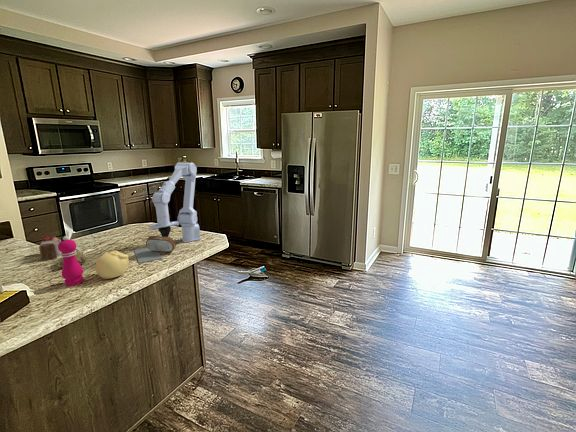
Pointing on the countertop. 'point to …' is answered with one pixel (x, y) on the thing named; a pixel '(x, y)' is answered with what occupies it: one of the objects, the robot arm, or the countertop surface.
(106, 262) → the sculpture
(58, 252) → the food item
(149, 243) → the tin
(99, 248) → the countertop surface
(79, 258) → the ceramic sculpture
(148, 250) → the mat
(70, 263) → the pepper mill
